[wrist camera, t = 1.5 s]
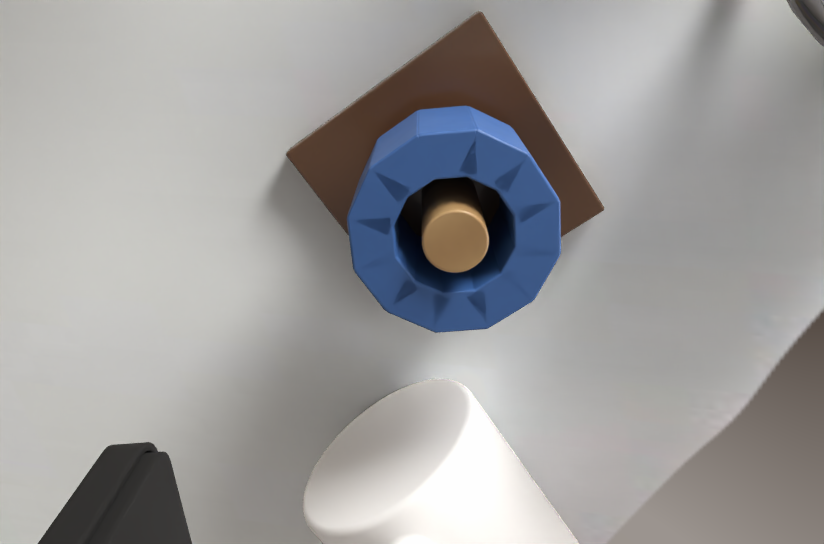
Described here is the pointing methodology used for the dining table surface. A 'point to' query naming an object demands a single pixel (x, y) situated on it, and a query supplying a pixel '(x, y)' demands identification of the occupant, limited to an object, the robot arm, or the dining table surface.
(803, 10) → the alarm clock
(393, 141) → the blue hollow cylinder
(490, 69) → the dowel stand
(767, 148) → the dining table surface
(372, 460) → the mug
